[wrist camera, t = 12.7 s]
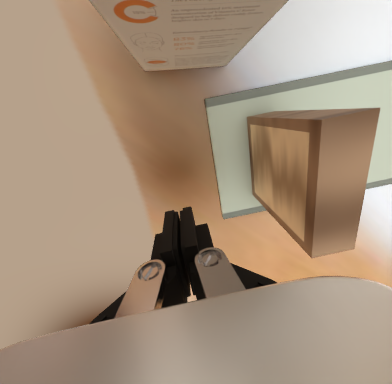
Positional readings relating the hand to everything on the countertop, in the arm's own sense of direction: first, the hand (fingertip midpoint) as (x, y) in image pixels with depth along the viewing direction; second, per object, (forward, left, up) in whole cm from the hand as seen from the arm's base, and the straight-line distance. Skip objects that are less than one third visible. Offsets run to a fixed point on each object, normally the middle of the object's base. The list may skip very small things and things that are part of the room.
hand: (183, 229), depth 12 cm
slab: (-1, +10, -10) cm, 14 cm away
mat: (-1, +16, -11) cm, 19 cm away
